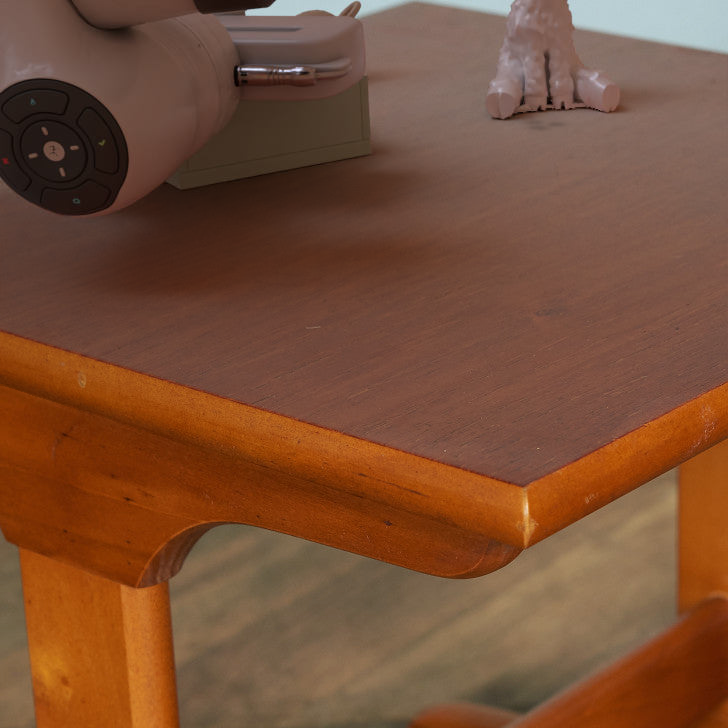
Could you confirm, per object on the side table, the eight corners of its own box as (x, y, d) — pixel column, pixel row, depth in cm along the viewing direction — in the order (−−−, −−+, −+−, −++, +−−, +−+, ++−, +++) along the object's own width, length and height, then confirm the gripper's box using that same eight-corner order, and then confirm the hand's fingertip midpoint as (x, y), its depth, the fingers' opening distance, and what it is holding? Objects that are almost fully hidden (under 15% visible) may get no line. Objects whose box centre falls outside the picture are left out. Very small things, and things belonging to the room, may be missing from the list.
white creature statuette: (488, 121, 113) (484, -64, 108) (461, 93, 120) (456, -81, 115) (622, 111, 115) (625, -71, 109) (588, 84, 122) (589, -88, 117)
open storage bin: (180, 190, 100) (171, 106, 97) (96, 145, 109) (85, 68, 107) (372, 154, 106) (367, 74, 104) (276, 114, 116) (270, 41, 114)
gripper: (337, 20, 90) (385, -23, 102) (-25, 18, 93) (65, -24, 105) (344, 136, 93) (390, 81, 105) (-7, 131, 95) (79, 78, 108)
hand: (225, 29), depth 105 cm, fingers closed on pill bottle, 4 cm apart
